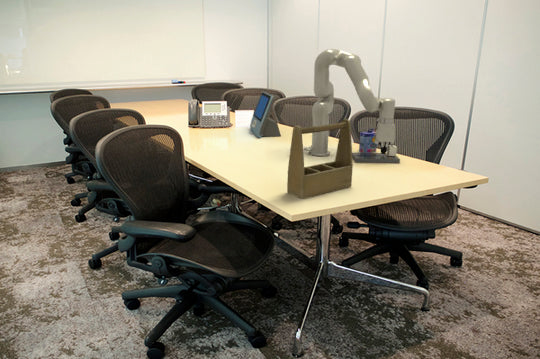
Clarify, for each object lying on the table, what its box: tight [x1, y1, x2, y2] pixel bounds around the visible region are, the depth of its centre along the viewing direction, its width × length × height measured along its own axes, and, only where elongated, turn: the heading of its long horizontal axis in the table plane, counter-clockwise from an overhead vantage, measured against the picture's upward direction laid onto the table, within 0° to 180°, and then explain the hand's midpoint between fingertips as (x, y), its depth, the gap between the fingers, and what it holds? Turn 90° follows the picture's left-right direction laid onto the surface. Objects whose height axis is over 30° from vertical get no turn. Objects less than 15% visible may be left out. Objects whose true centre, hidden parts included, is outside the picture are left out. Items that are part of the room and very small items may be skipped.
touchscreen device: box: [249, 90, 282, 139], centre depth 303 cm, size 35×20×30 cm, turn 12°
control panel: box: [352, 152, 401, 164], centre depth 233 cm, size 24×14×3 cm, turn 89°
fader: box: [386, 144, 398, 156], centre depth 232 cm, size 4×4×5 cm
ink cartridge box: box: [358, 128, 378, 153], centre depth 251 cm, size 10×6×14 cm, turn 117°
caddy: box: [286, 118, 354, 200], centre depth 178 cm, size 29×11×30 cm, turn 126°
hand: (383, 153), depth 232 cm, fingers closed
